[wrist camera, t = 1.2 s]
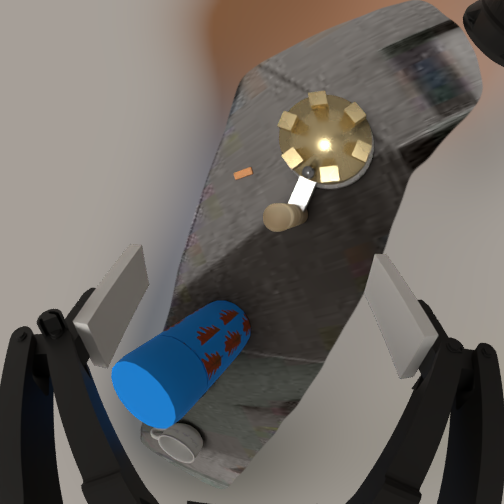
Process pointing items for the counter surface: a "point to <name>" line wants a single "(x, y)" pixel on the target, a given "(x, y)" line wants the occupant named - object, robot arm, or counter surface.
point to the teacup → (180, 441)
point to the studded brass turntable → (319, 151)
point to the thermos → (180, 363)
